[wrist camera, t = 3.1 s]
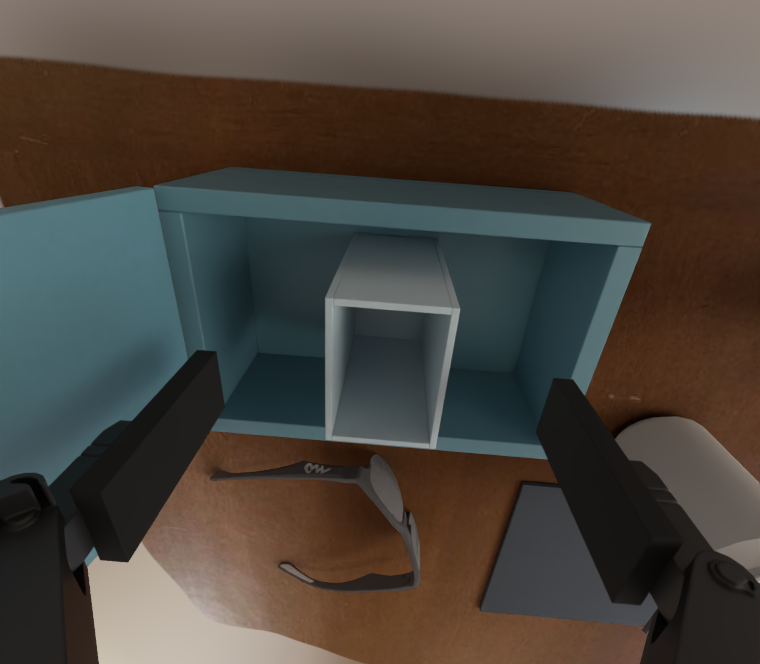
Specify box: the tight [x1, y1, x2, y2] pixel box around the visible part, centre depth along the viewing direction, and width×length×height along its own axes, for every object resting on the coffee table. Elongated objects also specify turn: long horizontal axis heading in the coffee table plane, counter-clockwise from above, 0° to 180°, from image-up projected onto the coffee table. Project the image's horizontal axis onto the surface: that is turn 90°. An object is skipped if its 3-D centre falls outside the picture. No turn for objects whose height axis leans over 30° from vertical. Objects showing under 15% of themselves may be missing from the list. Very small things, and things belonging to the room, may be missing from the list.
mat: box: [480, 481, 658, 626], centre depth 38 cm, size 20×20×1 cm
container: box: [325, 232, 460, 449], centre depth 20 cm, size 5×7×10 cm
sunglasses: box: [210, 454, 420, 593], centre depth 35 cm, size 16×17×5 cm
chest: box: [154, 167, 651, 459], centre depth 22 cm, size 20×13×8 cm, turn 86°
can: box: [615, 417, 760, 583], centre depth 26 cm, size 8×8×12 cm
